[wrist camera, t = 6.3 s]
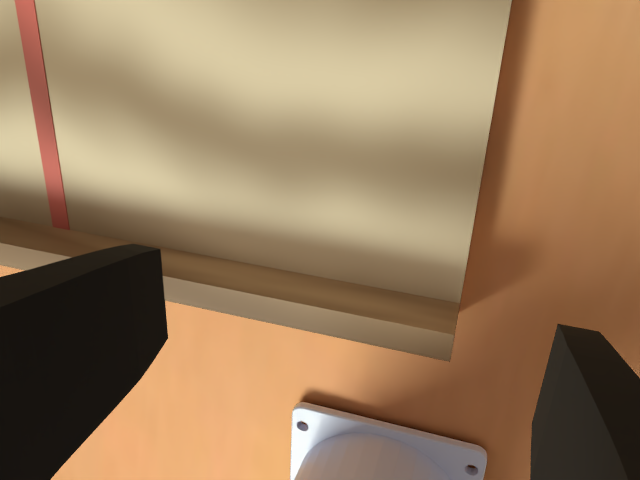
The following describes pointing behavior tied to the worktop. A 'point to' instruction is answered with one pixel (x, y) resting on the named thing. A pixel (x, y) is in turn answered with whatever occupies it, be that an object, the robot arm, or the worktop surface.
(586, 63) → the worktop surface
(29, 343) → the robot arm
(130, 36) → the lane
